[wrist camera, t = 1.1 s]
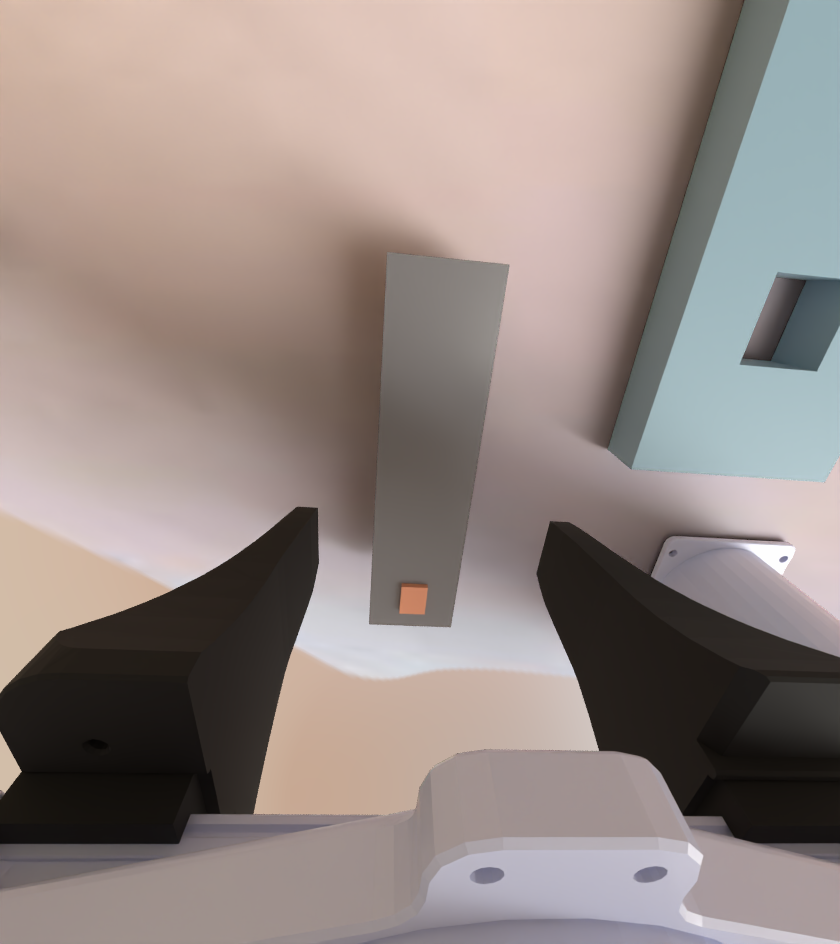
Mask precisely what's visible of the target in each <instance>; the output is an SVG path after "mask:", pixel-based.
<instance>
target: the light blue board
mask: <svg viewBox="0 0 840 944" xmlns="http://www.w3.org/2000/svg"><path fill="white" fill-rule="evenodd" d="M775 277H779V278H789V279H798V280H806V283H805V285H804V287H803V289H802V292H801V294H800V296H799V298H798V301H797V303H796V305H795V307H794V310H793V312H792V314H791V316H790V319H789V321H788V323H787V325H786V328H785V330H784V332H783V334H782V337H781V339H780V341H779V343H778V346H777V348H776V350H775V353H774V355H773V357H772V359H771V361H766V360H755V359H744V358H742V357H743V355H744V352H745V350H746V348H747V345H748V343H749V340H750V338H751V335H752V333H753V331H754V328H755V326H756V323H757V321H758V318H759V316H760V314H761V311H762V309H763V306H764V304H765V302H766V299H767V297H768V294H769V292H770V289H771V287H772V285H773V282H774V280H775ZM608 450H609V451H610V452H611V453H612V454H614V455H615V456H616V457H617V458H618V459H620V460H621V461H622V462H623V463H624V464H625V465H627V466H628V467H629V468H630V469H635V470H649V471H664V472H679V473H694V474H709V475H724V476H739V477H754V478H769V479H783V480H798V481H813V482H825V481H826V479H827V477H828V475H829V474H830V472H831V470H832V468H833V466H834V465H835V463H836V461H837V459H838V458H839V456H840V0H744V4H743V7H742V10H741V13H740V17H739V20H738V23H737V27H736V30H735V33H734V36H733V40H732V43H731V46H730V50H729V53H728V56H727V59H726V63H725V66H724V69H723V73H722V76H721V79H720V82H719V86H718V89H717V92H716V95H715V99H714V102H713V105H712V109H711V112H710V115H709V118H708V122H707V125H706V128H705V132H704V135H703V138H702V141H701V145H700V148H699V151H698V155H697V158H696V161H695V164H694V168H693V171H692V174H691V178H690V181H689V184H688V187H687V191H686V194H685V197H684V200H683V204H682V207H681V210H680V214H679V217H678V220H677V223H676V227H675V230H674V233H673V237H672V240H671V243H670V246H669V250H668V253H667V256H666V260H665V263H664V266H663V269H662V273H661V276H660V279H659V283H658V286H657V289H656V292H655V296H654V299H653V302H652V305H651V309H650V312H649V315H648V319H647V322H646V325H645V328H644V332H643V335H642V338H641V342H640V345H639V348H638V351H637V355H636V358H635V361H634V365H633V368H632V371H631V374H630V378H629V381H628V384H627V387H626V391H625V394H624V397H623V401H622V404H621V407H620V410H619V414H618V417H617V420H616V424H615V427H614V430H613V433H612V437H611V440H610V443H609V447H608Z"/></svg>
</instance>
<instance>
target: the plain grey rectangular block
mask: <svg viewBox="0 0 840 944" xmlns="http://www.w3.org/2000/svg"><path fill="white" fill-rule="evenodd" d="M508 271H509V265H508V264H498V263H489V262H479V261H469V260H459V259H450V258H440V257H430V256H420V255H411V254H401V253H391V252H387V266H386V287H385V307H384V328H383V348H382V369H381V389H380V410H379V431H378V451H377V472H376V492H375V513H374V533H373V554H372V574H371V595H370V615H369V624H377V625H404V626H432V627H451V623H452V616H453V610H454V604H455V598H456V592H457V586H458V579H459V573H460V567H461V561H462V555H463V549H464V542H465V536H466V530H467V524H468V518H469V512H470V505H471V499H472V493H473V487H474V481H475V475H476V469H477V462H478V456H479V450H480V444H481V438H482V432H483V425H484V419H485V413H486V407H487V401H488V395H489V388H490V382H491V376H492V370H493V364H494V358H495V351H496V345H497V339H498V333H499V327H500V321H501V314H502V308H503V302H504V296H505V290H506V284H507V277H508Z"/></svg>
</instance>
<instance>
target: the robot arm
mask: <svg viewBox="0 0 840 944" xmlns="http://www.w3.org/2000/svg"><path fill="white" fill-rule="evenodd" d="M672 550H673V551H672ZM670 551H672V552H670ZM669 552H670V553H669ZM794 553H795V547H794V546H793V545H792V544H790V543H788V542H776V541H758V540H740V539H722V538H704V537H686V536H672V537H669V538H668V539H667V540H666V541H665V543H664V545H663V548H662V550H661V553H660V555H659V557H658V560H657V562H656V565H655V567H654V570H653V572H652V574H651V576H649V575H648V574H646V573H645V572H643V571H641V570H640V569H638V568H637V567H635V566H633V565H632V564H630V563H629V562H627V561H626V560H624V559H623V558H621V557H620V556H619V555H617V554H616V553H614V552H613V551H611V550H610V549H608V548H607V547H606V546H604V545H603V544H601V543H600V542H598V541H597V540H596V539H594V538H593V537H591V536H590V535H588V534H587V533H585V532H584V531H583V530H581V529H580V528H578V527H576V526H575V525H573V524H571V523H569V522H554V521H550V524H549V528H548V532H547V536H546V539H545V543H544V547H543V551H542V555H541V558H540V562H539V566H538V570H537V577H538V581H539V585H540V589H541V592H542V596H543V599H544V602H545V605H546V607H547V610H548V612H549V614H550V617H551V619H552V621H553V624H554V626H555V628H556V631H557V633H558V635H559V637H560V640H561V642H562V644H563V646H564V649H565V651H566V653H567V655H568V658H569V660H570V662H571V665H572V667H573V669H574V672H575V675H576V677H577V680H578V682H579V686H580V689H581V692H582V695H583V698H584V701H585V704H586V708H587V711H588V713H589V717H590V720H591V724H592V728H593V731H594V735H595V738H596V741H597V745H598V748H599V751H560V750H555V751H554V750H500V749H484V750H477V751H470V752H463V753H457V754H455V755H453V756H451V757H449V758H448V759H446V760H444V761H442V762H440V763H438V764H436V765H435V766H434V767H433V768H432V769H431V770H430V771H429V773H428V775H427V776H426V778H425V779H424V781H423V783H422V784H421V786H420V787H419V793H418V800H417V806H416V809H414V810H409V811H404V812H398V813H393V814H388V815H282V814H281V815H280V814H278V815H277V814H275V815H274V814H271V815H270V814H269V815H268V814H266V815H265V814H253V813H254V808H255V803H256V798H257V793H258V789H259V784H260V779H261V774H262V770H263V765H264V761H265V756H266V751H267V747H268V742H269V737H270V734H271V729H272V725H273V720H274V716H275V712H276V707H277V703H278V699H279V695H280V691H281V687H282V683H283V679H284V674H285V671H286V667H287V664H288V661H289V658H290V654H291V652H292V649H293V646H294V643H295V641H296V638H297V635H298V632H299V629H300V627H301V624H302V621H303V618H304V615H305V613H306V610H307V607H308V604H309V601H310V598H311V595H312V592H313V588H314V583H315V579H316V574H317V569H318V564H319V551H318V508H310V507H296V508H295V509H294V510H293V511H291V512H290V513H289V514H288V515H287V516H285V517H284V518H283V519H282V520H281V521H279V522H278V523H277V524H276V525H275V526H274V527H272V528H271V529H270V530H269V531H267V532H266V533H265V534H264V535H262V536H261V537H260V538H259V539H257V540H256V541H255V542H253V543H252V544H251V545H249V546H248V547H246V548H245V549H244V550H242V551H241V552H239V553H238V554H237V555H235V556H234V557H232V558H231V559H229V560H228V561H226V562H224V563H223V564H221V565H220V566H218V567H216V568H214V569H213V570H211V571H209V572H207V573H206V574H204V575H202V576H200V577H198V578H197V579H194V580H192V581H190V582H188V583H186V584H184V585H182V586H180V587H178V588H176V589H174V590H172V591H170V592H168V593H166V594H164V595H161V596H159V597H157V598H154V599H152V600H149V601H147V602H145V603H142V604H140V605H137V606H134V607H132V608H129V609H127V610H124V611H121V612H119V613H116V614H113V615H110V616H107V617H104V618H101V619H98V620H95V621H91V622H88V623H85V624H82V625H79V626H76V627H73V628H70V629H66V630H63V631H60V632H58V633H57V634H56V636H54V637H53V638H52V639H51V640H50V641H49V642H48V643H47V644H46V646H45V647H44V648H42V650H41V651H40V652H39V653H38V654H37V655H36V656H35V657H34V658H33V659H32V660H31V661H30V662H29V663H28V664H27V665H26V666H25V667H24V668H23V669H22V670H21V671H20V672H19V673H18V675H16V676H15V678H13V679H12V680H11V682H10V683H9V684H8V685H7V686H6V687H5V688H4V689H3V690H2V692H1V693H0V732H1V734H2V736H3V738H4V739H5V741H6V743H7V745H8V747H9V749H10V751H11V752H12V754H13V756H14V758H15V760H16V762H17V764H18V765H19V767H20V769H21V771H22V772H21V773H20V775H19V776H18V777H17V778H16V780H15V781H14V782H13V784H12V785H11V786H10V788H9V789H8V790H7V791H6V793H4V792H2V791H1V790H0V944H840V621H839V620H838V619H837V618H836V617H834V616H833V615H832V614H831V613H829V612H828V611H827V610H825V609H824V608H823V607H822V606H820V605H819V604H818V603H817V602H815V601H814V600H813V599H812V598H810V597H809V596H808V595H806V594H805V593H804V592H803V591H801V590H800V589H799V588H798V587H796V586H795V585H794V584H792V583H791V582H790V581H789V580H787V579H786V578H785V577H784V576H782V573H783V572H784V570H785V568H786V566H787V565H788V563H789V561H790V560H791V558H792V556H793V554H794Z"/></svg>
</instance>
